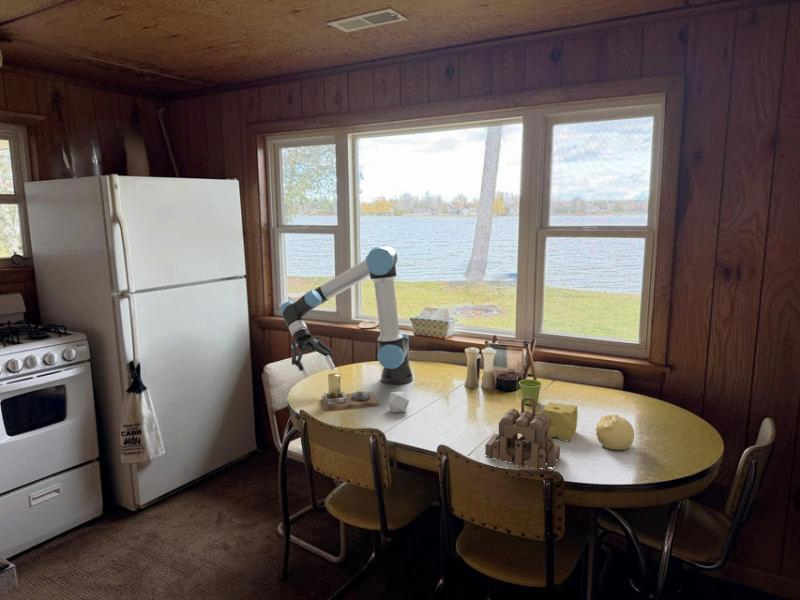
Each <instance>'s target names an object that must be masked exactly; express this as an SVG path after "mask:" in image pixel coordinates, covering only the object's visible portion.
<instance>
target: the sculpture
mask: <svg viewBox="0 0 800 600" xmlns="http://www.w3.org/2000/svg"><path fill="white" fill-rule="evenodd" d="M595 432H596V433H595V435H596V436H597V440H598V442H599V443H600V444H601V445H602V446H603V447H605V449H608V448H609V449H608V450H614V451H615V450H616V451H617V450H619V451H621V450H628V449H629V448H630V447H631V446H632V444H633V443H634V439H635V430H634V427H633V425H632V424H631V422H630V421H629V420H627V419H626V418H624V417H621V416H619V415H618V414H617V413H616V414H607V415H603V416H601V417H600V420H598V422H597V424H596V427H595Z"/></svg>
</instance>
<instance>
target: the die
mask: <svg viewBox="0 0 800 600" xmlns="http://www.w3.org/2000/svg"><path fill="white" fill-rule="evenodd" d="M386 403H387V404H386V405H387V406H388V407H389V409H390V411H391V412H392V413H393V414H396V413H397V414H398V413H405V412H406V411H407V408H408V406H409V403H410V400H409V398H408V397H407V395H406V393H405V392H404V391H392V392H390V394H389V396H388V400H387V402H386Z"/></svg>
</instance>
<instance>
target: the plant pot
mask: <svg viewBox="0 0 800 600" xmlns="http://www.w3.org/2000/svg"><path fill="white" fill-rule="evenodd" d="M518 385H519V387H520V394H521V400H522V399H523V398H525V397H530V398H533V399H534V400H535V402H536V405H538V402H539V396H540V391H541V387H542V386H543V383H542V381H540V380H537V379H536V380H535V379H522V380H519V382H518ZM526 404H528V405H530V406H532V405H531V404H532V402H531V401H529V400H526V401H525V405H526Z"/></svg>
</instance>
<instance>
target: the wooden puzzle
mask: <svg viewBox="0 0 800 600" xmlns="http://www.w3.org/2000/svg"><path fill="white" fill-rule="evenodd" d="M526 400H529V401H531V402H532V404H533V405H532V407H531V408H532V411H530V410H525V405H526V404H525V401H526ZM536 407H537V404H536V402H535V400H534V399H533V398H530V397H525V398H523V399H522V398H521V403H520V412H519V410H517V409H516V408H511V409H509V410H508V411H506V413H505V414H504V415H503V416H502V418H501V419H500V420H499V421H498V433H493V435H492V436H491V437H490V438H489V439H488V440H487V442H486V443H485V446H484V447H485V453H484V454H485V455H487V456H486V457H488V456H492V457H491V458H496V459H495V460H497V459H499V458H500V459H499V461H500V460H501V461H500V462H503V461H507V462H511V463H510V464H513V463H514V466H516V465H518V466H517V467H520V466H521V467H522V466H524V467H525V466H528V467H527V468H530V467H534V468H533V469H535V468H543V469H545V468H546V469H547V467H552V468H553V467H554V466H555V467H556V465H555V464H556V463H557V460H556V459H559V460H560V458H561V445H559V444H554V443H555V442H554V440H553V438H551V437H550V436H548V432H549V419H547V417H546V415H544V414H543V413H542V412H539V413H536V412H537V411H536V410H537V408H536ZM518 434H520V435H521V436H520V437H518ZM559 457H560V458H559ZM507 462H506V463H507ZM512 462H513V463H512ZM546 463H547V465H546ZM522 464H524V465H522ZM546 469H545V470H546Z"/></svg>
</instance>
